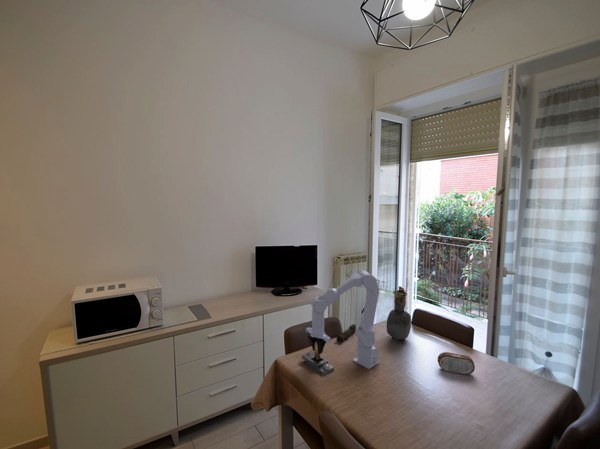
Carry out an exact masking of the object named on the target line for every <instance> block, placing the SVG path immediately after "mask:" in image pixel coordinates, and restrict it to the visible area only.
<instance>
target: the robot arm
mask: <svg viewBox="0 0 600 449" xmlns="http://www.w3.org/2000/svg"><path fill="white" fill-rule="evenodd" d="M354 287H355V288H356V287H358V288H363V287H364V288H365V290H366V291H367V292H366V297H365V304H364V308H363V314H362V319H361V322H359V325H358V327H357V328H356V331H355V335H356V337H357V347H356V357H355V358H353V359H352V361H353V362H355V363H357V364H359V365H360V366H362V367H364V368H366V369H368V370H370V369H372V368H373V367H376V365H378V364H380V362H379V349H378V348H377V347H375V342H376V337H375V329H374V322H375V317H376V312H377V306H378V301H379V294H380V288H379V284H378V280H377V278H376V277H375V276H374V274H373V275H372V274H371V273H369V272H368V271H366V269H365V270H364V269H360V270H358V271H357V272H355V273H353V274H352V275H351V276H350V277H349V278H348V279H346V280H345V281H344V282H343V283H341V284H340V285H338V286H337V287H336V288H333V287H332V288H327V289H326V291H325V292H324V293H322V294H320V295H318V296H316V297H314V298H312V300H311V302H310V305H311V307H312V310H311V312H312V313H311V327H306V328H305V333H309V335H308V336H307V337H308V339H309V341H310V344H311V345H310V346H311V348H312V351H313V352H315V340H316V342H317V346H318V354H321V355H322V354H323V352H324V348H325V346H326V344H328V343H331V340H332V339H331V337H330V336H329V335H327V334H326V332H325V311H326V310H327V307H329V306H330V305H331V304H333V303H335V302H336V301H338V300H339V299H340V296H341V295H342V294H344V293H345V292H347V291H349V290H351V289H353V288H354Z"/></svg>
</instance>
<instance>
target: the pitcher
mask: <svg viewBox="0 0 600 449" xmlns="http://www.w3.org/2000/svg"><path fill="white" fill-rule="evenodd" d="M392 293H393V294H394V309H392V310H390V312H389V314H388V316H387V318H386V332H387V334H388V336H390V337H391V340H392V342H393V343H397V344H402V343H405V342H406V339H407V338H408V337H409V335H410V333H411V326H412V316H411V314H410V313H409V312H408V311H406V310H405V308H406V303H407V301H406V300H407V295H408V293H407V291H406V290H405V288H404V287H402V286H398V289H397V290H395V291H393V292H392Z"/></svg>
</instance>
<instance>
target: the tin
mask: <svg viewBox="0 0 600 449" xmlns="http://www.w3.org/2000/svg"><path fill="white" fill-rule="evenodd" d="M437 362H438V366H439V367H440V369H441V370H443V371H444V372H448V373H453V374H458V375H464V376H468V375H471V374H473V373H474V371H475V368H476V367H475V362H474V360H473V359H472V358H471V357H470V356H468V355H465V354H459V353H454V352H453V353H452V352H448V351H446V352H445V351H444V352H440V354H439V355H438V357H437Z"/></svg>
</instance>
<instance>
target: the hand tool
mask: <svg viewBox="0 0 600 449" xmlns="http://www.w3.org/2000/svg"><path fill="white" fill-rule="evenodd" d="M356 326H357V325H356V324H351V325H349V326H348V329H346V330H344V331H343V332H342V333H340V334H339V335H337V336H336V341H337V342H338V343H340V344H341V343H343V342H344V341H345V340H346V339H347V338H349V337H350V336H351V335H354V334H356V330H357V327H356ZM353 333H354V334H353Z"/></svg>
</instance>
